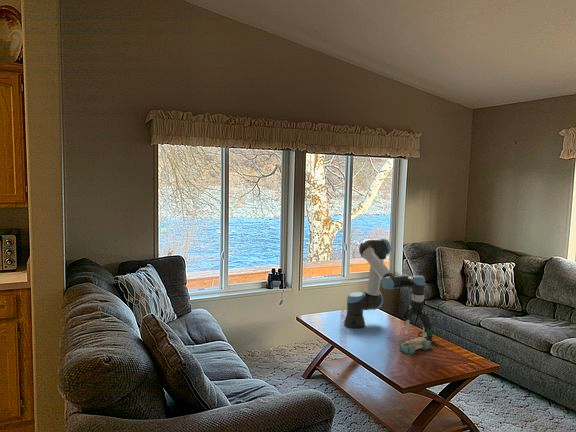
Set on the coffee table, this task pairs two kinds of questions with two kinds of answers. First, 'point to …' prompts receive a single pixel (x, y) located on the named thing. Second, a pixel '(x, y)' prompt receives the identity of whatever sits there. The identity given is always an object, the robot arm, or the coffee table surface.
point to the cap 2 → (427, 345)
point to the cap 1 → (407, 349)
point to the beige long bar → (416, 343)
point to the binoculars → (428, 334)
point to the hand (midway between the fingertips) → (415, 333)
